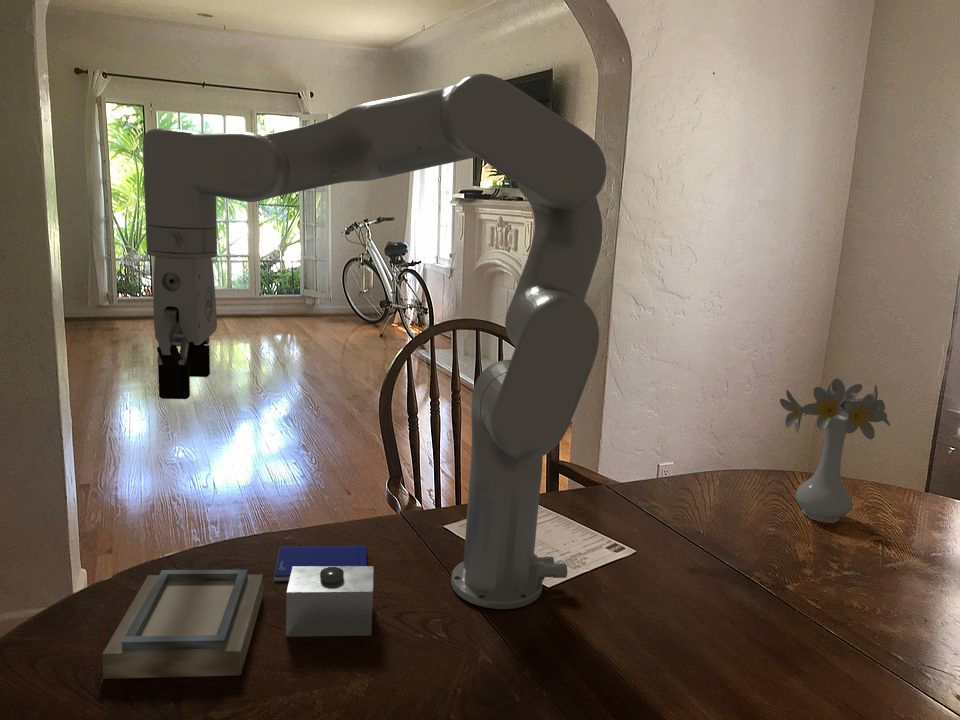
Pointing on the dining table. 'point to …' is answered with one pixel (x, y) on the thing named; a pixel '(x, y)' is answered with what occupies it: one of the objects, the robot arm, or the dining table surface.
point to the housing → (329, 601)
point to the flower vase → (833, 444)
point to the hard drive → (318, 558)
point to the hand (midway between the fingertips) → (186, 386)
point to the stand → (186, 625)
